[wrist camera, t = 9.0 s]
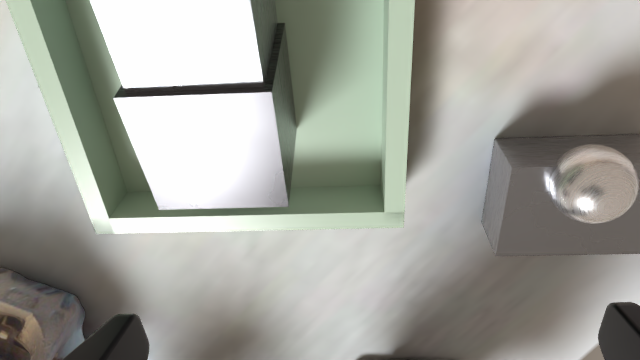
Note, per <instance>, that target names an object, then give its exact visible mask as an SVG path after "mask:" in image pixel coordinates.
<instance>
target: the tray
mask: <svg viewBox="0 0 640 360" xmlns="http://www.w3.org/2000/svg"><path fill="white" fill-rule="evenodd" d="M6 3H7V5H8V8H9V10H10V13H11V15H12V18H13V21H14V23H15V26H16V28H17V31H18V33H19V36H20V39H21V41H22V44H23V46H24V49H25V52H26V54H27V57H28V59H29V62H30V64H31V67H32V70H33V72H34V75H35V77H36V80H37V82H38V85H39V88H40V90H41V93H42V95H43V98H44V101H45V103H46V106H47V108H48V111H49V113H50V116H51V119H52V121H53V124H54V126H55V129H56V132H57V134H58V137H59V139H60V142H61V144H62V147H63V150H64V152H65V155H66V157H67V160H68V162H69V165H70V168H71V170H72V173H73V175H74V178H75V181H76V183H77V186H78V188H79V191H80V193H81V196H82V199H83V201H84V204H85V206H86V209H87V211H88V214H89V217H90V219H91V222H92V224H93V227H94V230H95V232H96V234H119V233H167V232H215V231H263V230H311V229H359V228H404V211H405V191H406V171H407V151H408V130H409V110H410V90H411V69H412V49H413V29H414V8H415V0H275V5H276V13H277V21H278V23H285V28H286V37H287V46H288V54H289V63H290V72H291V81H292V90H293V98H294V107H295V116H296V125H297V132H296V142H295V151H294V161H293V170H292V180H291V189H290V199H289V207H257V208H215V209H173V210H159V208H158V206H157V203H156V201H155V199H154V196H153V194H152V191H151V189H150V186H149V184H148V182H147V179H146V177H145V174H144V172H143V169H142V167H141V165H140V162H139V160H138V157H137V155H136V152H135V150H134V147H133V145H132V143H131V140H130V138H129V135H128V133H127V130H126V128H125V126H124V123H123V121H122V118H121V116H120V113H119V111H118V109H117V106H116V104H115V101H114V99H113V98H114V96H115V95H116V93H117V92H118V90H119V88H120V87H121V85H122V82H121V79H120V77H119V74H118V72H117V69H116V67H115V64H114V61H113V59H112V56H111V54H110V51H109V48H108V46H107V43H106V41H105V38H104V35H103V33H102V30H101V28H100V25H99V23H98V20H97V17H96V15H95V12H94V10H93V7H92V4H91V2H90V0H6Z"/></svg>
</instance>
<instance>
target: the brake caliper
mask: <svg viewBox="0 0 640 360" xmlns="http://www.w3.org/2000/svg"><path fill="white" fill-rule="evenodd" d="M84 318H85V310H84V308H83V307H82V305H81V304H80V301H79V299H78V298H77V296H75V295H73V294H71V293H68V292H65V291H62V290H59V289H56V288H53V287H50V286H47V285H45V284H42V283H39V282H35V281H32V280H29V279H27V278H25V277H23V276H22V275H20V274H18V273H16V272H15V271H12V270H9V269H5V268H0V360H62V359H63V358H64V357H66V356H67V355H68V354H69V353H70V352H72V351H73V350H74V349H75V348H76V347H78V346H79V345H80V344H81V343H82V342H84V341H85V340H84V337H83V333H82V324H83V321H84Z"/></svg>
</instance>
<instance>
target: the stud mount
mask: <svg viewBox="0 0 640 360" xmlns="http://www.w3.org/2000/svg"><path fill="white" fill-rule="evenodd" d="M482 224H483V227H484V229H485V232H486V234H487V236H488V239H489V241H490V244H491V246H492V249H493V251H494V253H495V256H528V255H587V254H640V134H630V135H599V136H567V137H535V138H504V139H495V140H494V146H493V152H492V159H491V165H490V171H489V178H488V184H487V190H486V197H485V203H484V209H483V216H482Z"/></svg>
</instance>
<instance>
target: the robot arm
mask: <svg viewBox="0 0 640 360" xmlns="http://www.w3.org/2000/svg"><path fill="white" fill-rule="evenodd" d="M598 340H599V345H600V348H601V351H602V354H603V357H604V359H605V360H640V306H639V305H637V304H635V303H632V302H616V303H610V304H609V305H608V306H607V308H606V311H605V314H604V317H603V320H602V323H601V327H600V330H599V334H598ZM148 355H149V341H148V338H147V335H146V333H145V330H144V327H143V325H142V322H141V319H140V317H139V316H138V315H137V314H118V315H115V316H114V317H112V318H111V319H110V320H109V321H108V322H106V323H105V324H104V325H103V326H102V327H100V328H99V329H98V330H97V331H96V332H94V333H93V334H92V335H91V336H90V337H88V338H87V339H86V340H85V341H84V342H82V343H81V344H80V345H79V346H78V347H76V348H75V349H74V350H73V351H72V352H70V353H69V354H68V355H67V356H66V357H64V358H63V359H62V360H147V359H148Z"/></svg>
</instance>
